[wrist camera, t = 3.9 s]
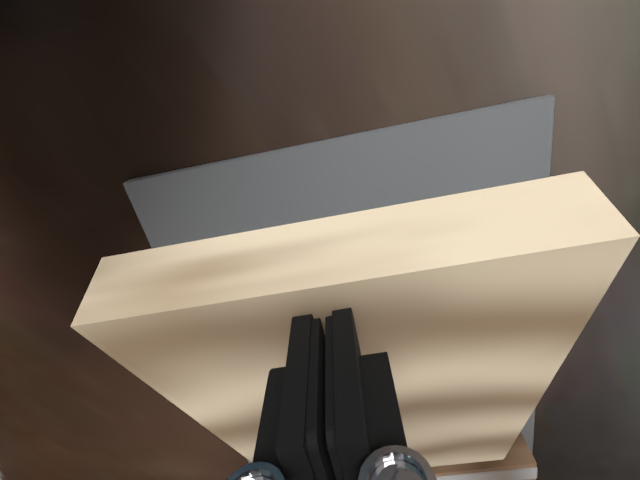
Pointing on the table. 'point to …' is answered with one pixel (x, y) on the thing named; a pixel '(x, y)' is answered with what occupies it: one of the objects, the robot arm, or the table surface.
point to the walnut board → (495, 466)
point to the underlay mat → (350, 176)
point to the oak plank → (375, 308)
